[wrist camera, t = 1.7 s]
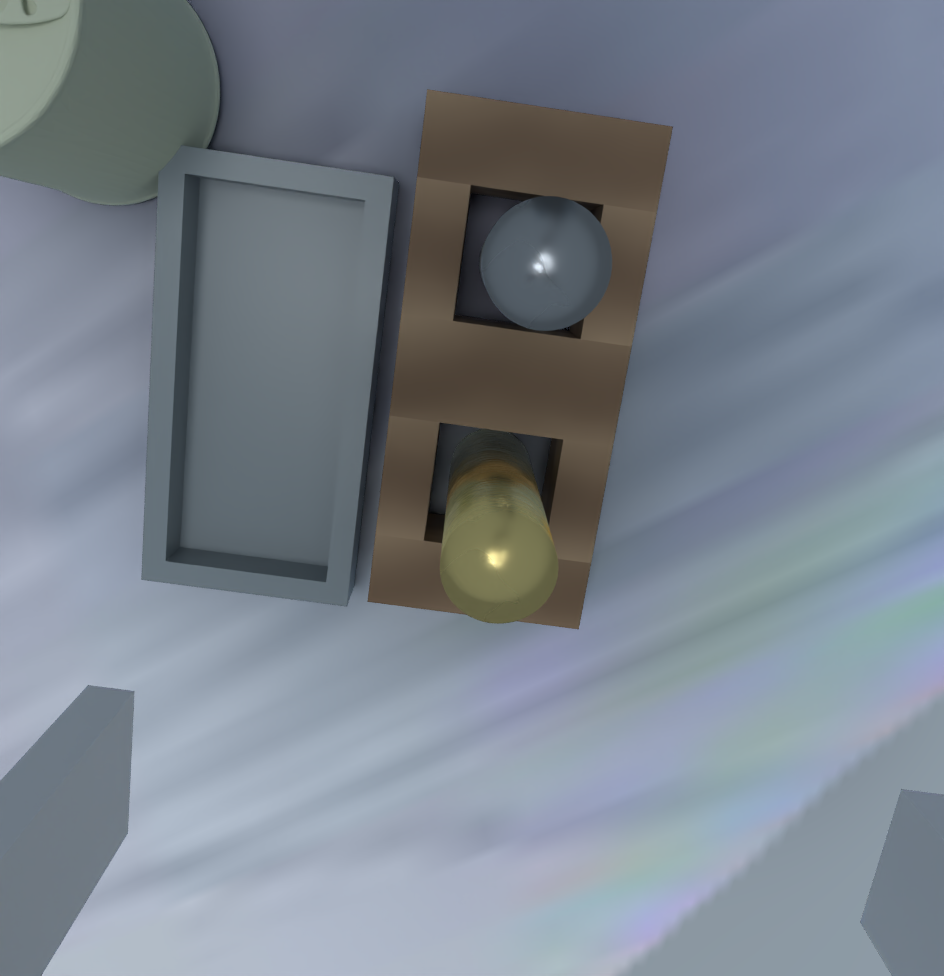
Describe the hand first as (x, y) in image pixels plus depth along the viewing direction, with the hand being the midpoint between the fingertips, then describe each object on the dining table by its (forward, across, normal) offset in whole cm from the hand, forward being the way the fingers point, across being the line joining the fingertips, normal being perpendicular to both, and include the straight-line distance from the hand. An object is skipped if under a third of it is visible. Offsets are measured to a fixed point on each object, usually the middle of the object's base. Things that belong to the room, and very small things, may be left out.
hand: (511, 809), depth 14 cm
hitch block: (+25, 0, +5) cm, 25 cm away
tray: (+25, -10, +3) cm, 27 cm away
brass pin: (+25, 0, 0) cm, 25 cm away
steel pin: (+25, 0, +9) cm, 26 cm away
